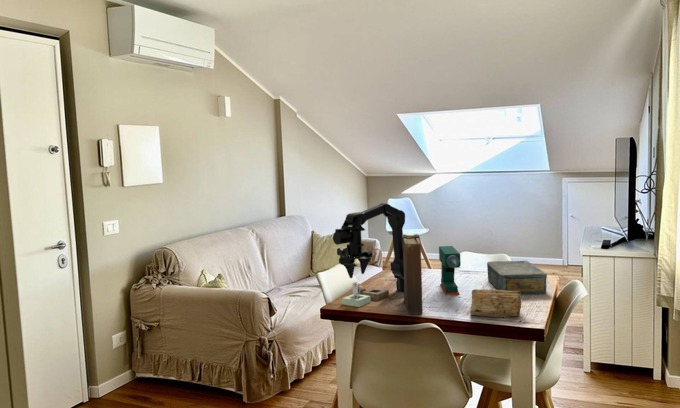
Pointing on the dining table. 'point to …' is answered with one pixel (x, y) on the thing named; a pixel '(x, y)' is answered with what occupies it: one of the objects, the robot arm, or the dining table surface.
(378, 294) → the block
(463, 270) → the dining table surface
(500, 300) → the petrified wood
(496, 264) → the metal box
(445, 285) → the power tool
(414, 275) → the decorative book
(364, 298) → the block
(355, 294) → the steel pin
